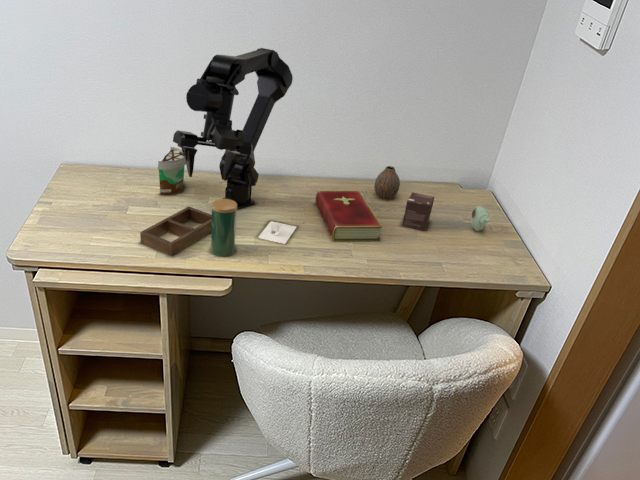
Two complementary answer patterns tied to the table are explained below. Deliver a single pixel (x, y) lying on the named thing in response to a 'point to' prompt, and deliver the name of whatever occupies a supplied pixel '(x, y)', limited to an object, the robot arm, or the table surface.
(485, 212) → the pale green lumpy piece
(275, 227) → the adhesive hook
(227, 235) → the canister
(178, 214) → the rack
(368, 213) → the hardcover book
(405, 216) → the box
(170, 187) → the food container
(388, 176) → the vase
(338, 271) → the table surface
